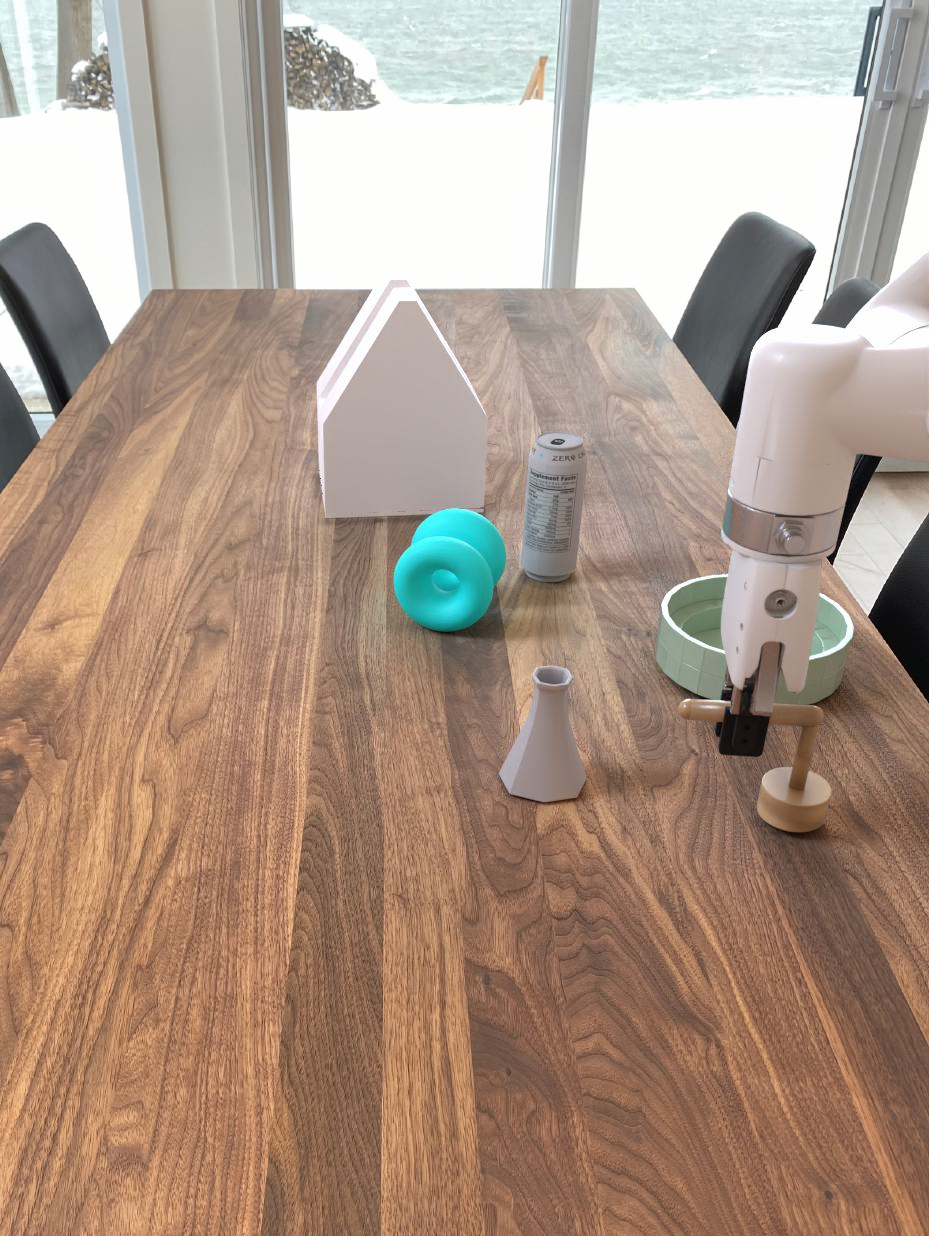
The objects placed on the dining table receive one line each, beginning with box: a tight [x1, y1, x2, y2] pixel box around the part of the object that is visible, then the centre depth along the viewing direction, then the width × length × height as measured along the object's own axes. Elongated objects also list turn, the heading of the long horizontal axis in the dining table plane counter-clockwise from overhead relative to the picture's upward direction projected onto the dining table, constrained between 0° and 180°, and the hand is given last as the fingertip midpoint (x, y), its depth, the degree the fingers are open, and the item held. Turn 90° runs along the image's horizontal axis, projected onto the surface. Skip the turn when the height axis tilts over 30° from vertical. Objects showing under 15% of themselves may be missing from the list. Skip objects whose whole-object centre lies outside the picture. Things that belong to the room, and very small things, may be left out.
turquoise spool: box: [393, 508, 507, 633], centre depth 119 cm, size 10×10×10 cm
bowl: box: [653, 573, 855, 705], centre depth 111 cm, size 17×17×6 cm
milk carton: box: [316, 267, 489, 519], centre depth 142 cm, size 19×15×25 cm
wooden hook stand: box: [677, 698, 833, 833], centre depth 91 cm, size 12×5×10 cm, turn 82°
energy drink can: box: [520, 431, 589, 583], centre depth 126 cm, size 6×6×15 cm
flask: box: [498, 665, 587, 803], centre depth 95 cm, size 7×7×10 cm
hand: (737, 743), depth 90 cm, fingers closed on wooden hook stand, 1 cm apart
